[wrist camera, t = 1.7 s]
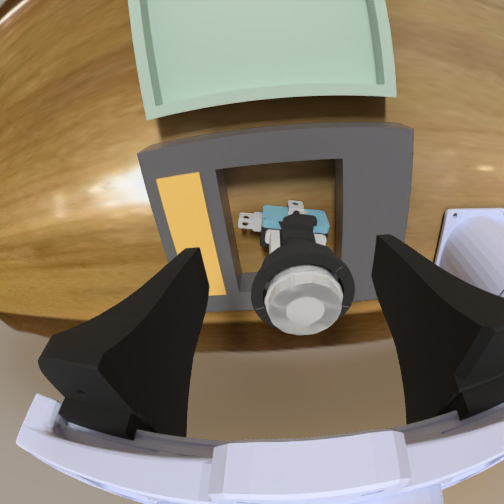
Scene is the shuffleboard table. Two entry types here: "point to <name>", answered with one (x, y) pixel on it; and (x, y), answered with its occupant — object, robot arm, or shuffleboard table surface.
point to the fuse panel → (274, 151)
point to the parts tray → (258, 51)
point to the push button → (298, 270)
